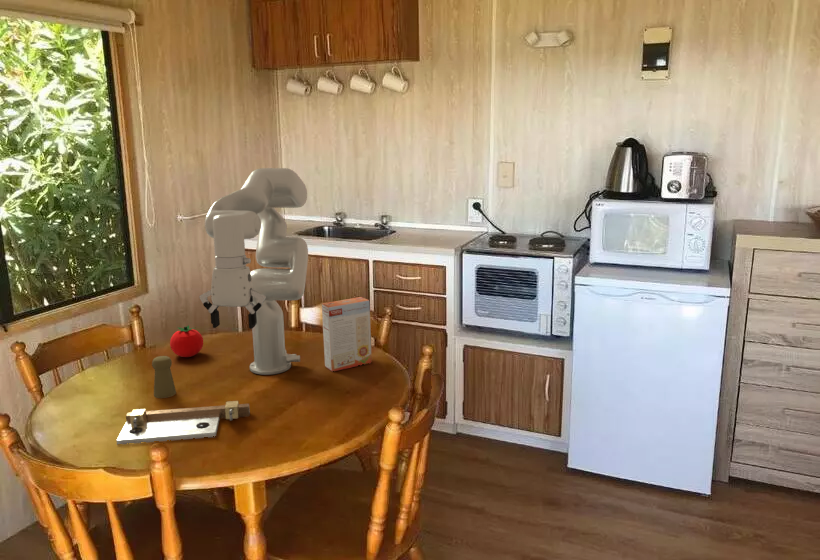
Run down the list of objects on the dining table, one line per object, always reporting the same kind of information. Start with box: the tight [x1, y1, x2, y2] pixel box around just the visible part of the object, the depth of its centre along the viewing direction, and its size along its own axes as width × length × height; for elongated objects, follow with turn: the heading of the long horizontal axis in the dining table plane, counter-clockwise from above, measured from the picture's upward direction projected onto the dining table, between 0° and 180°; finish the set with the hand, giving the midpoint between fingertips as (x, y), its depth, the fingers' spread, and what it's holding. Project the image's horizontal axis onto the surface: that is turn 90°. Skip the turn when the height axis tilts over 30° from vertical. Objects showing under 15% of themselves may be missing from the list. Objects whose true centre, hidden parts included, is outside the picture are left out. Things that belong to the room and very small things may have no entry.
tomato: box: [169, 324, 204, 358], centre depth 223 cm, size 10×10×10 cm
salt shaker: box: [151, 355, 177, 399], centre depth 193 cm, size 6×6×11 cm
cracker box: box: [321, 296, 372, 373], centre depth 212 cm, size 14×6×21 cm, turn 121°
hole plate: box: [116, 403, 251, 446], centre depth 173 cm, size 30×14×4 cm, turn 100°
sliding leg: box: [225, 400, 240, 421], centre depth 175 cm, size 3×6×3 cm, turn 10°
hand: (234, 327), depth 178 cm, fingers open, 9 cm apart
